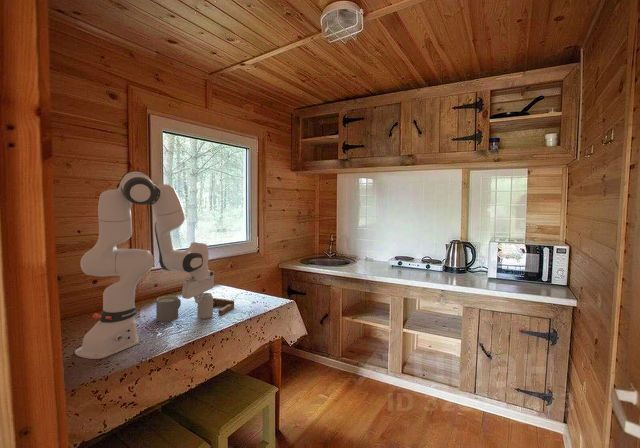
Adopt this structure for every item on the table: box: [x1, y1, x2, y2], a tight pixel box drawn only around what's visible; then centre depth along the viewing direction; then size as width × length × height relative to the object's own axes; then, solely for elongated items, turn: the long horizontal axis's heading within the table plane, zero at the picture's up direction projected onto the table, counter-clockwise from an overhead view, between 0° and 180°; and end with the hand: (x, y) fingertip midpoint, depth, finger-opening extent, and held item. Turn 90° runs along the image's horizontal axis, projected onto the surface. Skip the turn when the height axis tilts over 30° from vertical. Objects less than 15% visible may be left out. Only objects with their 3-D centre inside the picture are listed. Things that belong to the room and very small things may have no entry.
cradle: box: [213, 297, 235, 316], centre depth 172 cm, size 12×13×4 cm
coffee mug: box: [155, 295, 182, 323], centre depth 160 cm, size 13×10×10 cm
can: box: [197, 292, 214, 320], centre depth 161 cm, size 8×8×12 cm
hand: (198, 302), depth 155 cm, fingers closed
